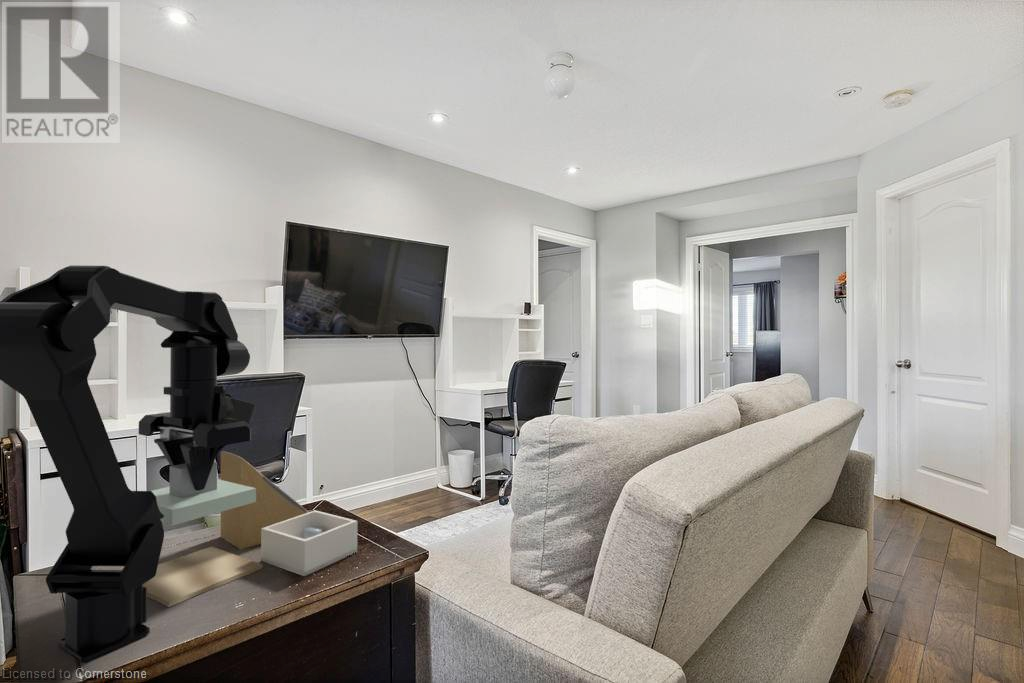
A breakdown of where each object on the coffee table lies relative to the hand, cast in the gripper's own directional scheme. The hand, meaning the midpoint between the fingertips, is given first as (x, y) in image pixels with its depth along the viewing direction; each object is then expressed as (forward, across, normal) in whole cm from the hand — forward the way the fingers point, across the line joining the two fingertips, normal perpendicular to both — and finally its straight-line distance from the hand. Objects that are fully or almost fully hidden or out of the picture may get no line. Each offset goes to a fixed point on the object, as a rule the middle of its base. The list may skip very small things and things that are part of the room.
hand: (193, 488), depth 75 cm
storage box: (+12, -9, -13) cm, 20 cm away
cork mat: (+12, 0, 0) cm, 13 cm away
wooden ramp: (+13, +6, -17) cm, 22 cm away
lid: (+3, 0, 0) cm, 3 cm away
